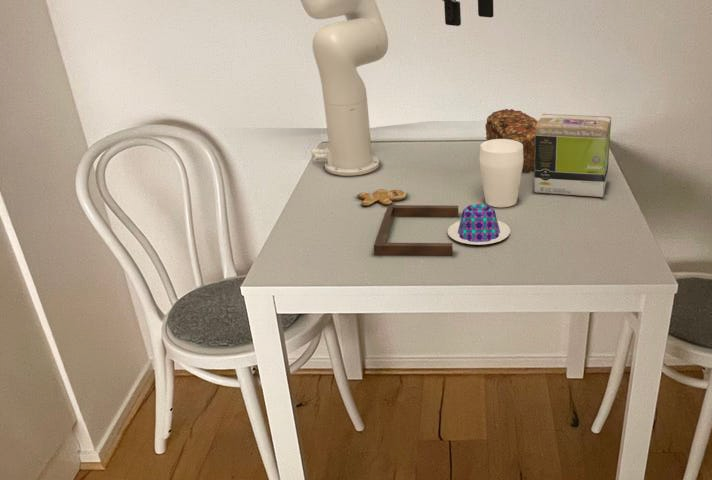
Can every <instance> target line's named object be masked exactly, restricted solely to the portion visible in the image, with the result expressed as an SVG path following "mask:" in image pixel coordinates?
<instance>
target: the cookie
mask: <svg viewBox="0 0 712 480" xmlns="http://www.w3.org/2000/svg"><path fill="white" fill-rule="evenodd" d="M357 198H358V199H361V200H362V201H361V203H360V204H361V205H362V206H363V207H369V206H371V205H373V204H374V203H377V202H379V203H380V204H382V205H383V206H388V205H392V203H393V202H399V201H402V200H404V199H406V198H407V192H406V191H404V190H403V189H401V188H400V189H399V188H392V189H389V190H386V189H384V188H379V189H377V190H375V193H371V192H366V191H364V192H359V193H358V194H357Z"/></svg>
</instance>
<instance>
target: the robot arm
mask: <svg viewBox="0 0 712 480" xmlns="http://www.w3.org/2000/svg"><path fill="white" fill-rule="evenodd" d="M441 1H442V2H443V4H444V5H443V6H444V7H443V9H444V23H445V25H446V26H453V27H460V26H461V25H462V16H461V14H462V12H461V2H460V1H458V0H441ZM300 3H301V5H302V7H303V9H304V11H305V12H306V14H307V16H309V17H310V18H312V19H314V20H324V19H325V20H327V19H333V18H336V17H341V16H344V17H345V19H346V20H341V21H338V22H333V23H329V24H326V25H324V26H323V27H320V28H319V30H317V31H316V32H315V34H314V35H313V37H312V53H313V57H314V60H315V64H316V66H317V70H318V74H319V77H320V83H321V90H322V98H323V104H324V113H325V124H326V130H327V138H328V139H327V140H328V147H325V148H312V149H311V156H312V158H314V159H315V161H317V160H318V161H322V160H324V161H325V162H324V168H325V171H326V172H328V173H330V174H332V175H335V176H343V177H354V176H355V177H356V176H361V175H365V174H369V173H372V172H374V171H376V170H377V169H379V167H380V159H379V158H378V157H377V156H376V155H373V152H372V140H371V129H370V117H369V104H368V97H367V96H368V95H367V88H366V86H365V82H364V80H363V78H362V77H361V76H360V74H359V72H358V70H357V68H359V67H362V66H364V65H368V64H371V63H375V62H377V61H380V60H381V59H383V58H384V57H385V56H386V54H387V52H388V49H389V37H388V32H387V29H386V26H385V23H384V20H383V18H382V15H381V12H380V10H379V7H378V4H377V1H376V0H300ZM494 14H495V13H494V0H477V15H478V17H480V18H493V17H494Z"/></svg>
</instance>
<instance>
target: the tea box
mask: <svg viewBox="0 0 712 480" xmlns="http://www.w3.org/2000/svg"><path fill="white" fill-rule="evenodd" d="M537 121H538V123H537V125H536V127H535V162H534V169H533V171H534V172H533V192H534V193H537V194H538V193H539V194H550V195H551V194H555V195H568V196H579V197H580V196H581V197H582V196H583V197H595V198H604V196H605V190H606V186H607V182H608V174H609V173H608V171H609V161H610V160H609V159H610V146H611V145H610V144H611V132H612V131H611V130H612V129H611V128H612V116H607V115H581V114H557V113H542V114H541V116H540V118H539V119H538V120H537Z"/></svg>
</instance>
